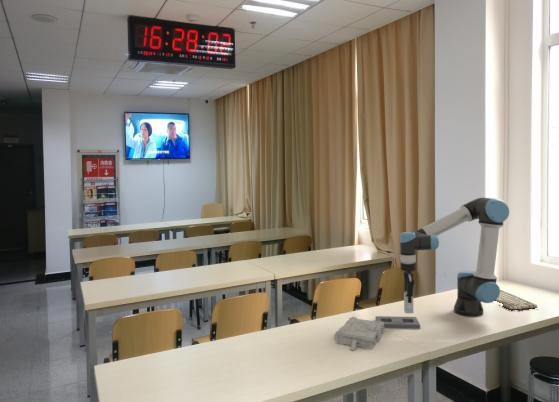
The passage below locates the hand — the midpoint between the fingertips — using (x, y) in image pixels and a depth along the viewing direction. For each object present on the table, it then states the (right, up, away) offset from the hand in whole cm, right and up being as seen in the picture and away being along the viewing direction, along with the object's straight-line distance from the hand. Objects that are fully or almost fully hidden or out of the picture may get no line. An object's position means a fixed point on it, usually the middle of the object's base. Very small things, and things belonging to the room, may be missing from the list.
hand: (408, 306), depth 232 cm
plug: (0, -3, 0) cm, 3 cm away
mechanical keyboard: (+69, -6, +39) cm, 79 cm away
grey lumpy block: (-29, -12, -17) cm, 35 cm away
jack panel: (-6, -10, +1) cm, 11 cm away
